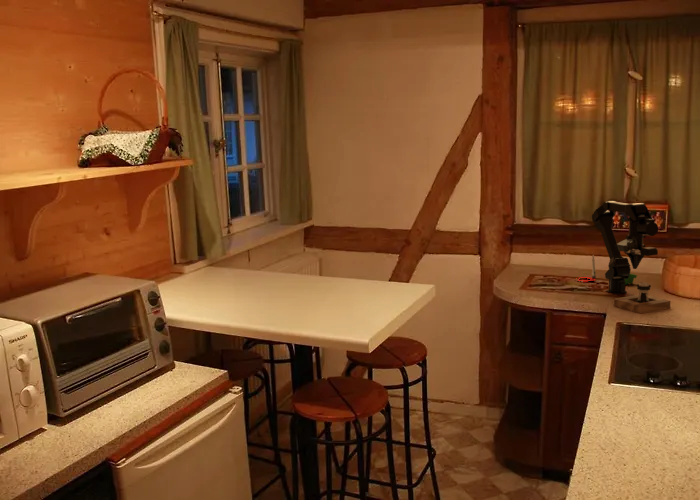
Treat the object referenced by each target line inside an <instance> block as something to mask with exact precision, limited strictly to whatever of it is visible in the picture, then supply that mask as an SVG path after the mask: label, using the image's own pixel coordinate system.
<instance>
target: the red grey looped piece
mask: <svg viewBox="0 0 700 500" xmlns="http://www.w3.org/2000/svg"><path fill="white" fill-rule="evenodd" d="M591 259H592V260H591V266H592V267H591V277H588V276H586V277H584V276H583V277H578V278H579V279H580V278H587V279H582V280H579V279H578V281H583V282H582V283H589V282H588V281H596V282H597V276H596V262H595V260H596V259H595V255H594V254H592V258H591ZM588 279H590V280H588Z"/></svg>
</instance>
